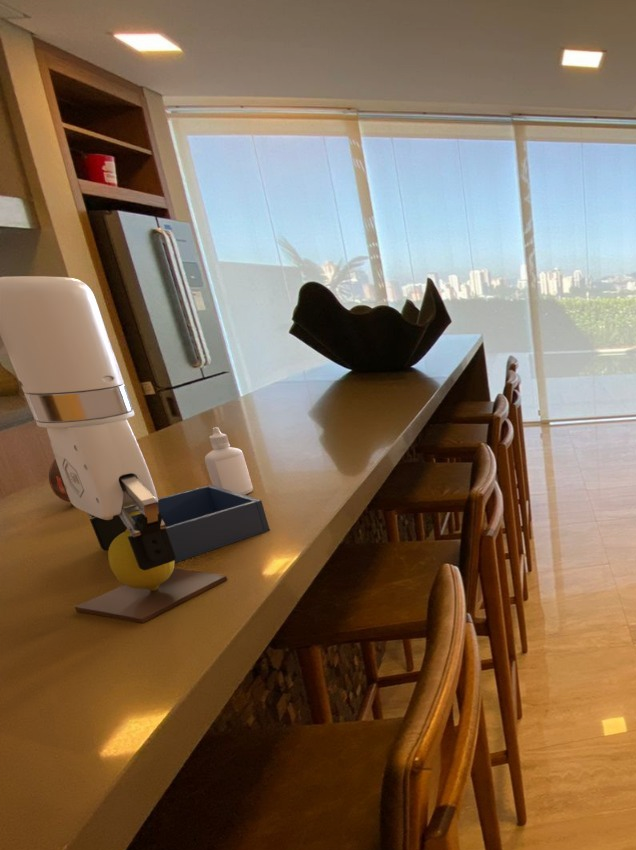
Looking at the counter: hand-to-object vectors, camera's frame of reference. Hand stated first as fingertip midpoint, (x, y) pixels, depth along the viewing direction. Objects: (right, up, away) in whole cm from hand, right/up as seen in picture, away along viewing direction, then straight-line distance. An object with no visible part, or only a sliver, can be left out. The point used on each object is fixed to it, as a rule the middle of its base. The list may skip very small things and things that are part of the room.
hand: (138, 555), depth 64 cm
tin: (-38, +8, +36) cm, 53 cm away
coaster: (0, -5, +2) cm, 5 cm away
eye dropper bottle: (-13, +8, +34) cm, 37 cm away
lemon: (0, -4, +2) cm, 5 cm away
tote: (-8, +1, +17) cm, 19 cm away
